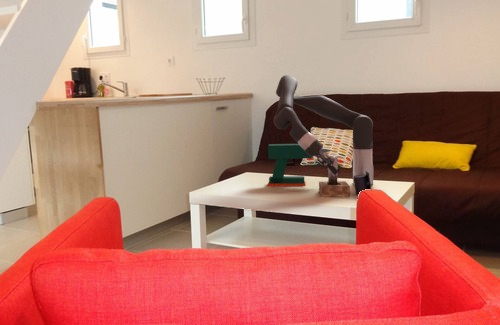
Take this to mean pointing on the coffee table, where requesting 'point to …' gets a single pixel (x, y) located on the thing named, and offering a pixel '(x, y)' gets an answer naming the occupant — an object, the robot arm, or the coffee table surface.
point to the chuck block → (334, 189)
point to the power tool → (282, 155)
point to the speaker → (362, 182)
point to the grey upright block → (331, 177)
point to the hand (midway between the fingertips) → (337, 172)
